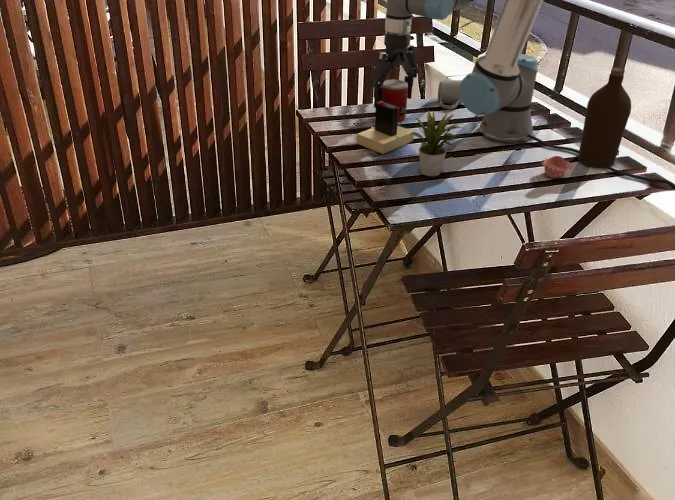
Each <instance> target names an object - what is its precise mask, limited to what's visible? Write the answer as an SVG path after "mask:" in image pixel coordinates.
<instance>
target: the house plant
mask: <svg viewBox="0 0 675 500" xmlns="http://www.w3.org/2000/svg"><path fill="white" fill-rule="evenodd" d="M448 113H449V111H447V112H446V113H445V114H444V116H443V117H442V118H441V120H439V122H438V124H437V121H436V117H435V115H436V114H435V112H434V110H432V114H431V111H430V110H429V109H428V110H427V113H426V126H425V124H424V123H423V121H421V120H420V118H417V117H415V120H417V122H418V124H419V125H420V126H419V125H417V127H418V128H419V129H420V131H421V132H422V133H423V135H424V137H423V135H421V133H419V132H416V131H414V132H412V133H410V134H412V135H414V136H415V137H417V138H418V139H420V140H421V142H420V143H421V144H420V146H419V148H418V155H419V157H418V158H419V165H420V173H421V174H422V175H423V176H426V177H437V176H440V174H441V173H442V169H443V166H444V162H445V158H446V155H447V152H448V151H447V149H446V147H444V146H445V145H447V146H449V147H450V148H453V144H452V142H450V141H453V140H457V136H458V137H459V134H453V133H450V131H451V130H455V129H463V128H464V126H461V125H462V124H463V125H464V122H457V123H454V124H451V125H450V126H448V124H449V123H450V120H451V119H452V118H453V117H454V115H455V114H451V115H449V116H448ZM447 116H448V117H447ZM414 136H413V137H414Z"/></svg>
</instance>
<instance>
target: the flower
mask: <svg viewBox="0 0 675 500" xmlns="http://www.w3.org/2000/svg"><path fill="white" fill-rule="evenodd" d="M541 165H542V166H543V167H544V169H543V170H544V172H545V173H546V174H545V175H546V176H548V177H550V178H552V179H558V178H561V177H563V176H565V174H566V173H567V172H568V171H570V170H571V169H573V168H574V165H573V163H570V161H567V160H566V159H565V158H564V157H562V156H560V155H554V156H551V157H548V158H546V157H545V158H544V159H541Z"/></svg>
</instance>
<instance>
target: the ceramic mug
mask: <svg viewBox="0 0 675 500" xmlns="http://www.w3.org/2000/svg"><path fill="white" fill-rule="evenodd" d="M462 80H463V79H456V80H455V79H445V80H440V82H439V83H438V89H437V101H438V102H439V105H440V107H441V108H442V109H444V110H454V109H456V108H457V107H458V105H459V106H462V105H464V104H463V101H462V99H461V98H460V92H459V89H460V84H461V82H462ZM446 104H449V105H446Z"/></svg>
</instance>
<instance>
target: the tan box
mask: <svg viewBox="0 0 675 500" xmlns="http://www.w3.org/2000/svg"><path fill="white" fill-rule="evenodd" d="M412 132H415V131H413V130H411V129H408V128H406V127H402V126H400V125H397V135H394V136H392V137H391V136H389V135H386V134H384V133H381V132H378V131H376V130H375V126H371V128H369V129H366V130H363V131H360V132H358V133H357V134H356V144H357V145H359V146H362V147H364V148H367V149H369V150H371V151H375V152H377V153H380V154H382V155H384V154H386V153H389V152H391V151H393V150H395V149H398V148H400V147H403V146H406V145H407V144H411V143H412V142H414V135H412V134H410V133H412Z"/></svg>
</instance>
